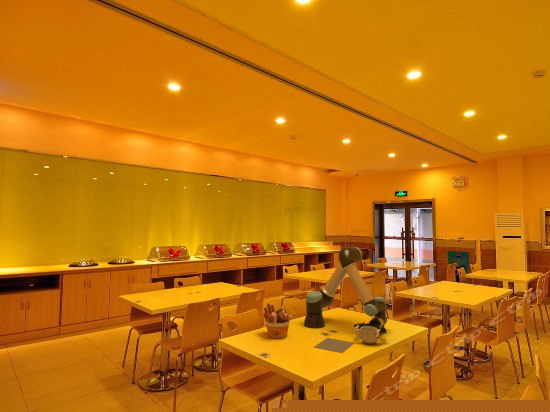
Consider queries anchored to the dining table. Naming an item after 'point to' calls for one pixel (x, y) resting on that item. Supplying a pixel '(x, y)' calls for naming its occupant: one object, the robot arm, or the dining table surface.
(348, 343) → the placemat
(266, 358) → the dining table surface
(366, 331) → the teacup
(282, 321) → the bucket of meat
